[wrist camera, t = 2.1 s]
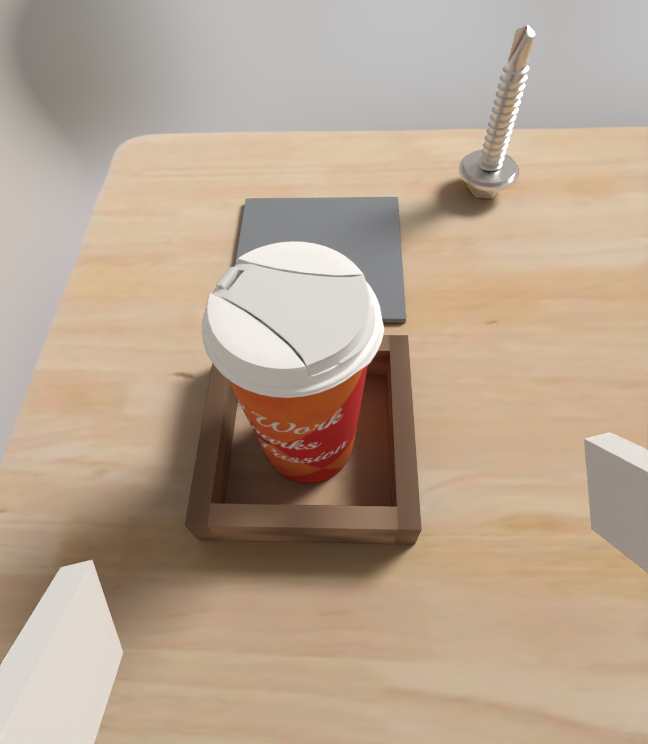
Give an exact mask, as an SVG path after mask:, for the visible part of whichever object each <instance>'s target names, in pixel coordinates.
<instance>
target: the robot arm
mask: <svg viewBox="0 0 648 744" xmlns="http://www.w3.org/2000/svg"><path fill="white" fill-rule="evenodd" d="M584 443H585V455H586V467H587V480H588V492H589V505H590V517H591V529H592V530H594V531H595V532H596V533H597V534H599V535H600V536H601V537H603V538H604V539H605V540H606V541H608V542H609V543H610V544H612V545H613V546H614V547H615V548H617V549H618V550H619V551H621V552H622V553H623V554H624V555H626V556H627V557H628V558H630V559H631V560H632V561H633V562H635V563H636V564H637V565H638V566H640V567H641V568H642V569H644V570H645V571H646V572H647V573H648V450H647V449H645V448H643V447H641V446H638V445H636V444H634V443H632V442H630V441H628V440H626V439H624V438H621V437H619V436H617V435H615V434H613V433H611V432H609V433H605V434H601V435H597V436H593V437H589V438H585V439H584ZM122 655H123V650H122V647H121V644H120V641H119V638H118V635H117V632H116V629H115V626H114V623H113V620H112V617H111V614H110V611H109V608H108V605H107V602H106V599H105V596H104V593H103V590H102V587H101V584H100V581H99V578H98V575H97V572H96V569H95V566H94V563H93V560H89V561H84V562H80V563H76V564H72V565H68V566H64V567H61V568H60V569H59V571H58V572H57V574H56V576H55V577H54V579H53V581H52V582H51V584H50V585H49V587H48V589H47V590H46V592H45V594H44V595H43V597H42V598H41V600H40V602H39V603H38V605H37V606H36V608H35V610H34V611H33V613H32V615H31V616H30V618H29V619H28V621H27V623H26V624H25V626H24V628H23V629H22V631H21V632H20V634H19V636H18V637H17V639H16V641H15V642H14V644H13V645H12V647H11V649H10V650H9V652H8V654H7V655H6V657H5V658H4V660H3V662H2V663H1V665H0V744H94V742H95V739H96V736H97V733H98V730H99V726H100V723H101V720H102V717H103V714H104V711H105V708H106V705H107V702H108V698H109V695H110V692H111V689H112V686H113V683H114V680H115V677H116V674H117V670H118V667H119V664H120V661H121V658H122Z"/></svg>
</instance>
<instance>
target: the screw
mask: <svg viewBox="0 0 648 744" xmlns="http://www.w3.org/2000/svg"><path fill="white" fill-rule="evenodd" d="M535 35H536V33H535V32H534V31H533V30H532V29H531V28H530V27H529V26H528V25H527V26H525V27H522V28H519V29H518V30H516V33H515V37H514V41H513V44H512V48H511V53H510V57H509V60H508V64H507V66H505V67H504V68H503V71H504V74H503V75H501V76H500V80H501V83H500V84H499V85H498V88H499V91H498V92H497V93H496V96H497V99H496V100H495V101H494V104H495V106H494V107H493V108H492V111H493V114H492V115H491V116H490V118H491V120H492V121H490V122H489V124H488V125H489V127H490V128H488V129H487V134H488V135H487V136H486V137H485V140H486V142H485V143H484V144H483V146H484V149H482V150H479V151H475V152H473V153H471V154H469V155H467V156H465V157H464V158H463V159H462V161H461V163H460V166H459V174H460V176H461V178H462V179H463V181H465V182H466V183H467V184H468V186H467V188H468V189H469V190H470V192H471V193H472V194H473V195H474V196H475V198H487V199H492V198H493V197H494V196H495V195H496V194H497V193H498V192H499V191H500V190H503V189H506V188H508V187H510V186H512V185H513V184H514V183H515V182H516V180H517V178H518V175H519V168H518V165H517V164H516V162H515V161H514V160H513V159H512V158H511V157H510V156H508V155H507V154H505V153H506V148H507V146H508V141H509V139H510V134H511V133H512V127H513V125H514V120H515V118H516V112H517V111H518V109H519V106H518V105H519V104H520V102H521V98H520V97H521V96H522V95H523V88H524V87H525V85H526V83H525V80H526V79H527V78H528V74H527V71H528V69H529V64H528V60H529V56H530V53H531V49H532V46H533V42H534V39H535Z"/></svg>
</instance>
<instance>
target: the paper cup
mask: <svg viewBox="0 0 648 744" xmlns="http://www.w3.org/2000/svg"><path fill="white" fill-rule="evenodd" d="M216 286H217V287H216V289H215V290H214V292H213V294H211V293H210V294H209V297H208V301H207V307H206V309H205V313H204V317H203V322H202V336H203V343H204V346H205V349H206V351H207V354H208V356H209V358H210V359H211V361H212V363H213V364H214V366H215V367H216V368H217V369H218V370H219V371H220V373H221V374H222V375H223V376H225V377H226V378H227V379H228V380H229V382H230V384H231V386H232V388H233V390H234V392H235V394H236V396H237V398H238V400H239V402H240V404H241V406H242V409H243V411H244V413H245V415H246V417H247V419H248V421H249V423H250V425H251V427H252V429H253V431H254V433H255V435H256V437H257V439H258V441H259V443H260V445H261V446H262V448H263V450H264V452H265V454H266V456H267V458H268V459H269V461H270V462H271V464H272V465H273V467H274V468H275V469H276V470H277V471H278V472H279V473H280V474H281V475H283V476H284V477H286V478H288V479H290V480H292V481H295V482H300V483H317V482H321V481H324V480H327V479H329V478H331V477H332V476H334V475H335V474H337V473H338V472H339V471H340V470H341V469H342V468H343V467H344V466H345V464H346V463H347V461H348V459H349V457H350V455H351V452H352V449H353V445H354V440H355V435H356V430H357V425H358V419H359V413H360V408H361V402H362V396H363V390H364V384H365V378H366V372H367V366H368V364H370V362H371V361H372V359H373V358H374V356H375V355H376V353H377V351H378V349H379V347H380V344H381V342H382V338H383V333H384V326H383V321H382V316H381V311H380V305H379V303H378V300H377V297H376V295H375V293H374V292H373V290H372V288H371V287H370V285H369V284H368V283H367V282H366V280H365V276H364V275H363V273H362V272H361V271H360V269H359V268H358V267H357V266H356V265H355V264H354V263H353V262H352V261H351V260H349V259H348V258H347V257H346V256H344V255H342V254H341V253H339V252H337V251H335V250H333V249H331V248H328V247H326V246H322V245H319V244H315V243H308V242H293V241H291V242H280V243H274V244H269V245H266V246H263V247H259V248H257V249H254V250H252V251H250V252H248V253H246V254H244V255H242V256H241V257H239V258H238V259H237V264H236V265H235V266H234V267H230V268H229V269H228V270H227V272H226V273H225V274H224V275H223V277H222V278H221V279H220V280H219V282H218V283H217V284H216Z"/></svg>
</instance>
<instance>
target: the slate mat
mask: <svg viewBox="0 0 648 744" xmlns="http://www.w3.org/2000/svg"><path fill="white" fill-rule="evenodd" d="M291 241H293V242H308V243H315V244H319V245H322V246H326V247H328V248H331V249H333V250H335V251H337V252H339V253H341V254H342V255H344V256H346V257H347V258H348V259H349V260H351V261H352V262H353V263H354V264H355V265H356V266H357V267H358V268H359V269H360V271H361V272H362V273H363V275H364V276H365V280H366V282H367V283H368V284H369V285H370V287H371V288H372V290H373V292H374V293H375V295H376V297H377V300H378V303H379V305H380V311H381V316H382V321H383V323H405V322H406V311H405V296H404V281H403V267H402V252H401V237H400V223H399V208H398V197H351V198H251V199H246V201H245V207H244V213H243V219H242V226H241V232H240V238H239V244H238V250H237V257H236V263H235V265H236V264H237V259H238V258H239V257H241V256H242V255H244V254H246V253H248V252H250V251H252V250H254V249H257V248H259V247H263V246H266V245H269V244H274V243H280V242H291Z"/></svg>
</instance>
